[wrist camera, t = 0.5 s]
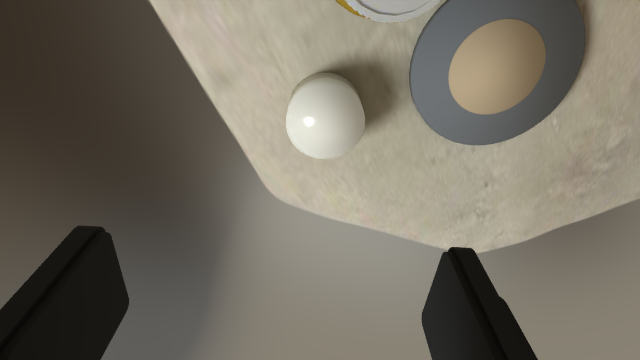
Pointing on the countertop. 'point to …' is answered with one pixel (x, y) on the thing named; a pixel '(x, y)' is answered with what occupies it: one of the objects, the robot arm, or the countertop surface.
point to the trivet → (495, 66)
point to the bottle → (388, 9)
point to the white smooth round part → (325, 116)
